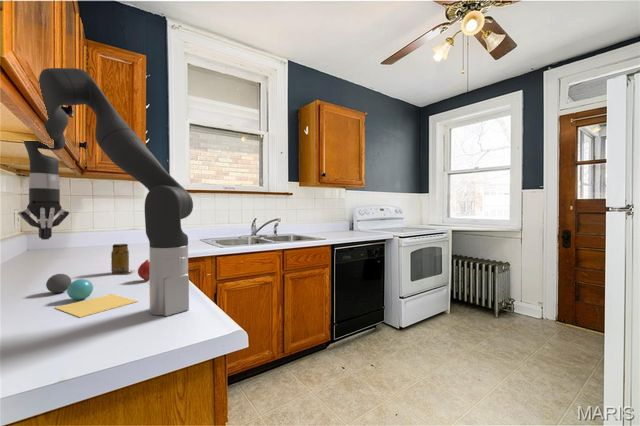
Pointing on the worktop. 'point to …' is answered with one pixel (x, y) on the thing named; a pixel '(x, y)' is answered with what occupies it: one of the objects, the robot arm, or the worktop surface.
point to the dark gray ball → (58, 283)
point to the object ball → (80, 289)
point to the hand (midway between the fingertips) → (45, 239)
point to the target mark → (95, 305)
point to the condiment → (120, 260)
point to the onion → (144, 270)
